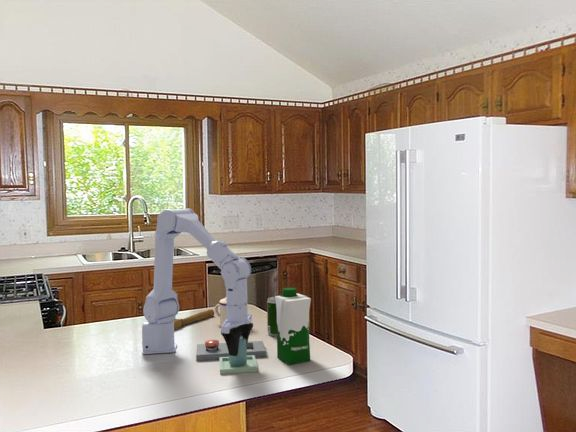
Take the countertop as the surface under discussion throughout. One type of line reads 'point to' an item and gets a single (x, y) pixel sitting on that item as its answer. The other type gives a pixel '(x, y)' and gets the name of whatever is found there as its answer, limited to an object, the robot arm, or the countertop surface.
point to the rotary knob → (239, 354)
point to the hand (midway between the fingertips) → (237, 352)
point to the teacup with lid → (221, 311)
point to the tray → (248, 367)
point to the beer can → (272, 316)
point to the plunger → (211, 345)
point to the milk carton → (293, 326)
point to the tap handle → (193, 318)
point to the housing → (223, 352)
